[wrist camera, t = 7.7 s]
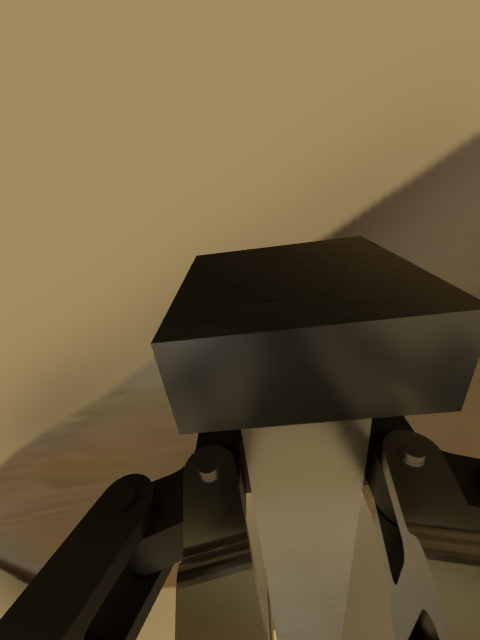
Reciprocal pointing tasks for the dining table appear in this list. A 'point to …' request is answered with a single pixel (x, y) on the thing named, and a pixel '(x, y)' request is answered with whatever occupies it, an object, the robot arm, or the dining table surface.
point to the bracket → (364, 586)
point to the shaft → (312, 391)
